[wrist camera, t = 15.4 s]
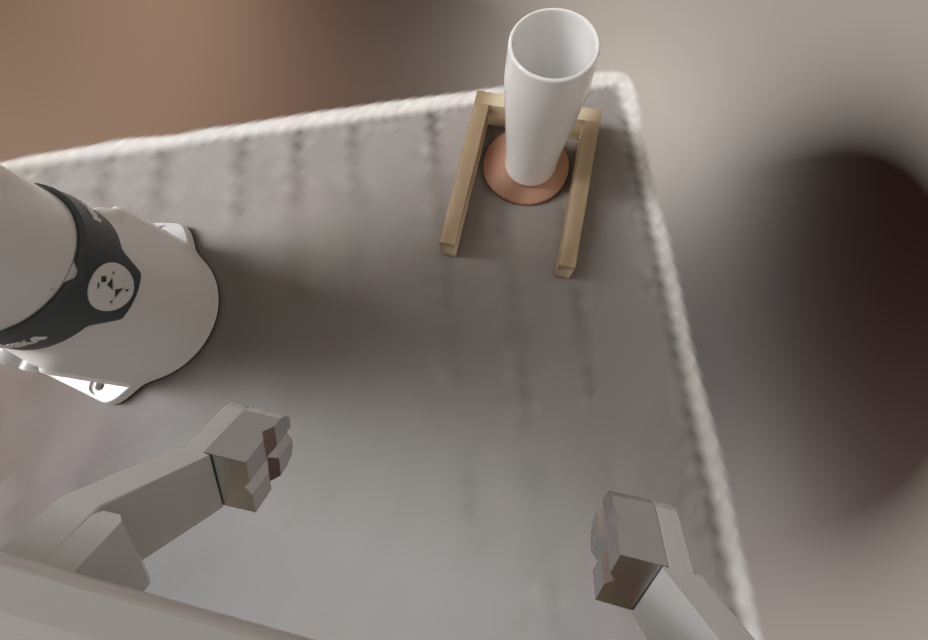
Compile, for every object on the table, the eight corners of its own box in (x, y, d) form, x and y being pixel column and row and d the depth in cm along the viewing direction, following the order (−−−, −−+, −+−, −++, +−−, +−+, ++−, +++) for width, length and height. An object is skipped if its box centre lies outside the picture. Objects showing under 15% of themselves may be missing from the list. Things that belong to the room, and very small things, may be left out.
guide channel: (441, 254, 44) (439, 241, 41) (477, 111, 48) (477, 90, 45) (568, 278, 43) (575, 267, 40) (594, 130, 47) (602, 110, 44)
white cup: (572, 183, 45) (617, 66, 30) (510, 203, 44) (526, 93, 30) (548, 130, 46) (580, -5, 32) (488, 149, 46) (494, 20, 32)
